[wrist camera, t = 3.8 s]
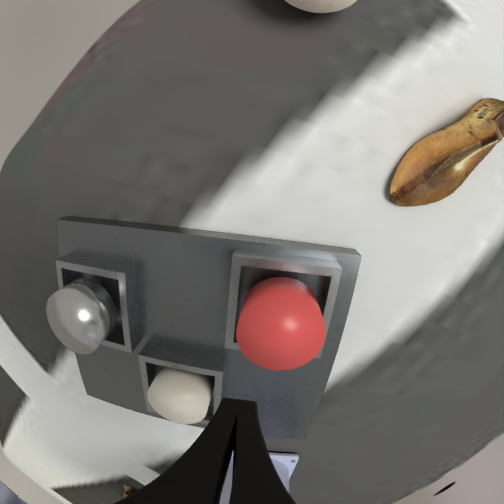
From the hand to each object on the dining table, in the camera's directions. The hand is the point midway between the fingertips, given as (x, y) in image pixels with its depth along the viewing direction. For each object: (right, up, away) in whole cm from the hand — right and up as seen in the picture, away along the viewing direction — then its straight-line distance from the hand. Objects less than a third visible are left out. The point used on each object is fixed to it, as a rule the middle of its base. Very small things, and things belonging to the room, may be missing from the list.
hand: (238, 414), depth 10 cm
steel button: (-10, +3, +7) cm, 13 cm away
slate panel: (-4, 0, +10) cm, 11 cm away
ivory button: (-5, -3, +9) cm, 11 cm away
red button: (+2, +3, +6) cm, 7 cm away
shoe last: (+15, +14, +5) cm, 21 cm away
